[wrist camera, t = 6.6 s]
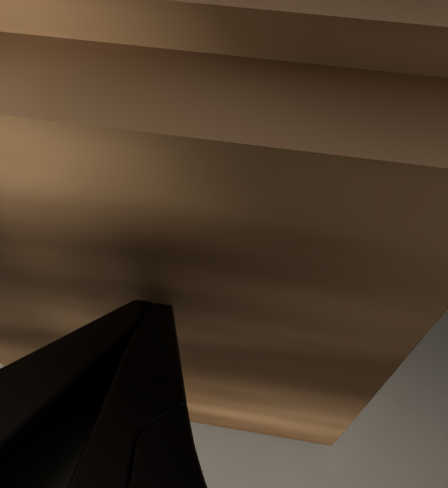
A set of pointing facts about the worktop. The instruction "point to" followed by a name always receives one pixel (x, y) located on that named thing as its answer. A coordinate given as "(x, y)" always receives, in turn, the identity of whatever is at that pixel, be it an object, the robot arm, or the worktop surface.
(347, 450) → the worktop surface
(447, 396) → the worktop surface
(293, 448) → the worktop surface
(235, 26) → the domino
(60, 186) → the domino
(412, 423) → the worktop surface
